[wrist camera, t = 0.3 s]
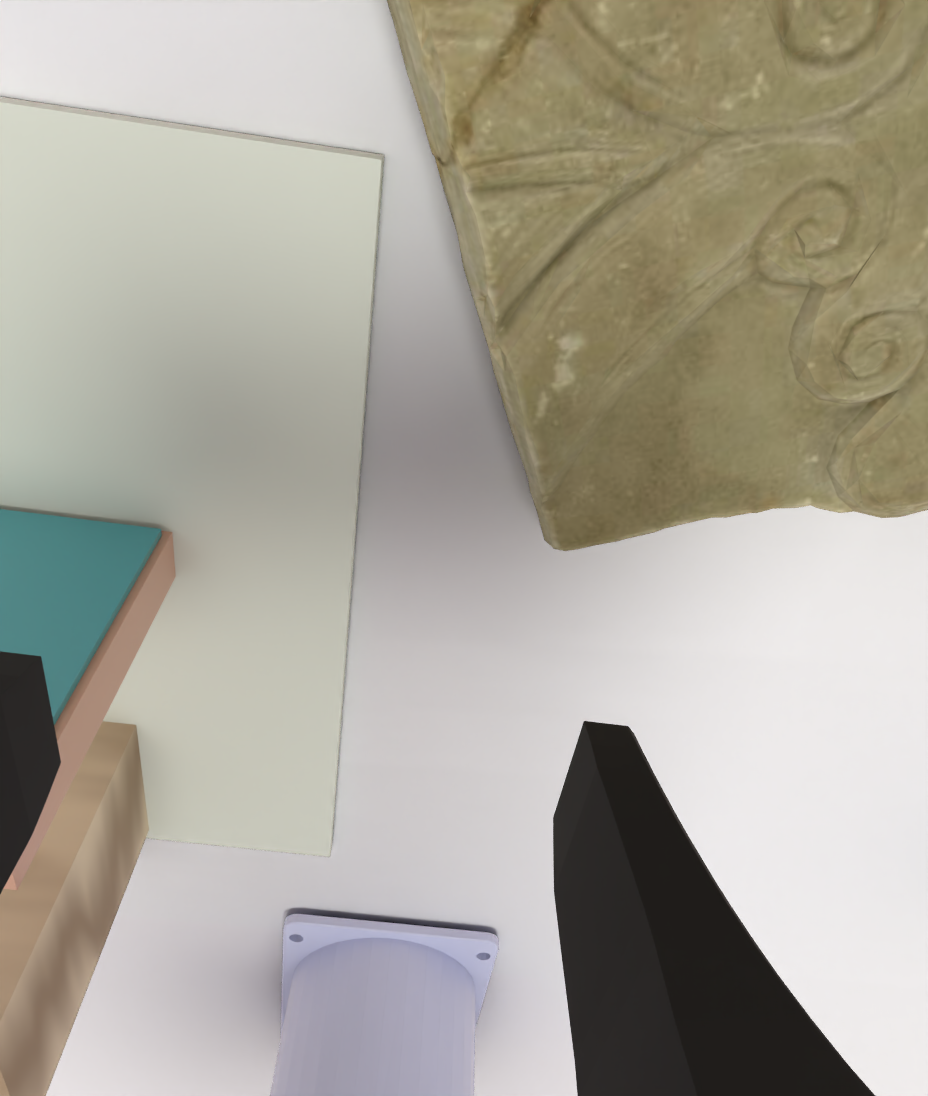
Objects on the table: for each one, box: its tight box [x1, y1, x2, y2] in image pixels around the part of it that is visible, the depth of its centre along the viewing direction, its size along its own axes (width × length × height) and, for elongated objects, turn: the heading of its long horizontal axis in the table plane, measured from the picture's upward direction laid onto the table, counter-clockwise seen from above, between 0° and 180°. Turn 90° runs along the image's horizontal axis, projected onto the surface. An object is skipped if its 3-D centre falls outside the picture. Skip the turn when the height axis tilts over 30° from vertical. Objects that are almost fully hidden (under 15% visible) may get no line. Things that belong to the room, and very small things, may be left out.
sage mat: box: [0, 97, 384, 857], centre depth 22 cm, size 22×15×1 cm
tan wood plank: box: [0, 721, 149, 1096], centre depth 23 cm, size 5×3×9 cm, turn 172°
